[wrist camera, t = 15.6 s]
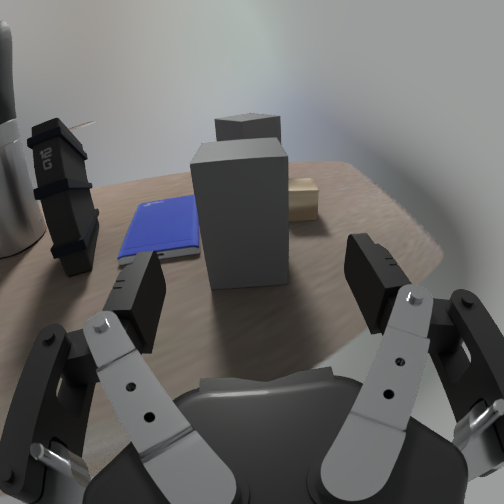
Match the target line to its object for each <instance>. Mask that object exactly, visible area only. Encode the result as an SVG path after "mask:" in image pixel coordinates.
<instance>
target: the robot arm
mask: <svg viewBox="0 0 504 504" xmlns="http://www.w3.org/2000/svg"><path fill="white" fill-rule="evenodd" d="M12 78H13V77H12V37H11V31H10V28H9V26H8V24H7V23H6V22H4V21H0V258H1V257H6V256H11V255H13V254H16V253H18V252H20V251H22V250H24V249H26V248H27V247H29V246H30V245H32V244H33V243H34V242H35V241H37V240H38V239H39V238H40V237H41V236H42V235H43V234H44V232H45V230H46V225H45V222H44V219H43V216H42V213H41V211H40V208H39V205H38V202H37V200H35V197H34V192H33V190H34V189H33V186H32V182H31V179H30V175H29V172H28V168H27V164H26V160H25V156H24V152H23V148H22V143H21V139H20V134H19V129H18V123H17V119H16V112H15V102H14V90H13V79H12ZM344 273H345V278H346V280H347V282H348V284H349V286H350V289H351V291H352V293H353V295H354V297H355V299H356V301H357V304H358V306H359V308H360V310H361V312H362V315H363V317H364V319H365V321H366V324H367V326H368V328H369V330H370V333H371V334H377V333H382V336H383V338H382V341H381V343H380V346H379V348H378V351H377V353H376V356H375V358H374V361H373V363H372V365H371V368H370V370H369V372H368V375H367V377H366V379H365V381H364V384H362V383H361V382H359V381H356V380H354V379H351V378H346V377H342V376H334V375H333V372H332V368H331V367H325V368H319V369H311V370H304V371H299V372H296V373H293V374H290V375H287V376H284V377H281V378H278V379H275V380H272V381H269V382H261V381H254V380H246V379H240V378H233V377H229V378H205V379H200V387H199V388H197V389H194V390H191V391H188V392H186V393H184V394H182V395H180V396H179V397H177V398H175V399H174V400H173V401H172V400H171V398H170V397H169V396H168V394H167V393H166V392H165V390H164V389H163V387H162V386H161V384H160V383H159V382H158V380H157V379H156V377H155V376H154V374H153V373H152V371H151V370H150V368H149V367H148V365H147V364H146V362H145V361H144V359H143V358H142V356H141V355H142V353H146V354H152V349H153V345H154V340H155V336H156V331H157V327H158V323H159V319H160V314H161V310H162V306H163V302H164V298H165V294H166V283H165V279H164V275H163V272H162V268H161V265H160V261H159V258H158V255H157V252H156V251H155V250H153V251H143V252H138V253H137V254H136V257H135V259H134V261H133V263H132V264H128V265H127V266H126V267H125V268H124V269H123V270H122V271H121V272H120V273H119V275H118V277H117V279H116V282H115V284H114V286H113V289H112V290H111V292H110V295H109V297H108V299H107V301H106V304H105V306H104V308H103V310H102V311H101V312H98V313H96V314H94V315H92V316H91V317H90V318H89V319H88V320H87V321H86V323H85V324H84V328H83V329H80V330H77V331H73V332H69V333H66V331H65V329H64V328H63V327H62V326H61V325H59V324H52V325H49V326H47V327H46V328H44V329H43V330H42V331H41V332H40V333H39V334H38V336H37V338H36V340H35V343H34V345H33V347H32V349H31V352H30V354H29V356H28V359H27V361H26V364H25V366H24V369H23V371H22V374H21V377H20V379H19V382H18V385H17V388H16V390H15V393H14V396H13V399H12V402H11V405H10V409H9V412H8V415H7V418H6V422H5V425H4V429H3V433H2V437H1V441H0V489H1V490H2V491H3V492H4V493H6V494H8V495H10V496H12V497H14V498H16V499H18V500H21V501H22V502H23V503H25V504H464V498H465V492H466V488H467V483H468V482H469V481H471V480H473V479H475V478H476V477H485V476H487V475H489V474H491V473H493V472H495V471H496V470H498V469H500V468H501V467H503V466H504V337H503V335H502V333H501V332H500V330H499V328H498V327H497V325H496V324H495V322H494V320H493V319H492V317H491V316H490V314H489V313H488V311H487V310H486V308H485V307H484V305H483V304H482V303H481V301H480V300H479V298H478V297H477V296H476V295H475V294H473V293H472V292H470V291H467V290H464V289H458V290H456V291H454V292H453V293H452V295H451V298H450V300H444V299H434V298H433V297H432V295H431V293H429V291H428V290H426V289H425V288H423V287H421V286H419V285H414V284H411V282H410V281H409V279H408V278H407V276H406V275H405V273H404V272H403V271H402V269H401V268H400V266H399V265H397V262H396V261H395V259H393V257H392V255H391V254H390V253H389V251H388V250H387V249H385V248H384V247H382V246H381V245H380V244H374V242H373V241H372V240H371V238H370V237H369V235H368V234H367V233H361V234H350V235H349V236H348V240H347V247H346V255H345V263H344ZM463 341H464V342H465V344H466V346H467V348H468V350H469V352H470V354H471V363H470V361H469V359H468V357H467V355H466V353H465V351H464V349H463V348H462V343H463ZM427 353H429V354H430V356H431V358H432V361H433V363H434V365H435V368H436V370H437V372H438V375H439V377H440V380H441V382H442V384H443V387H444V389H445V392H446V394H447V397H448V400H449V403H450V405H451V408H452V410H453V413H454V416H455V419H456V422H457V424H456V426H455V429H454V439H453V441H452V443H451V442H450V441H448V440H446V439H445V438H443V437H442V436H440V435H439V434H437V433H436V432H434V431H432V430H431V429H429V428H428V427H426V426H425V425H423V424H422V423H420V422H419V421H417V420H416V419H414V418H413V417H411V416H410V414H411V412H412V408H413V405H414V402H415V399H416V396H417V392H418V389H419V385H420V382H421V377H422V374H423V370H424V366H425V362H426V357H427ZM60 377H61V378H62V382H61V386H60V389H59V393H58V396H56V390H57V386H58V383H59V379H60ZM97 382H101V384H102V386H103V388H104V390H105V392H106V394H107V397H108V399H109V401H110V403H111V405H112V407H113V409H114V411H115V412H116V414H117V416H118V418H119V420H120V422H121V424H122V426H123V427H124V429H125V431H126V433H127V434H128V436H129V438H130V440H131V442H130V443H129V444H128V445H127V446H126V447H125V448H124V449H123V450H122V451H121V452H120V453H119V454H118V455H117V456H116V457H115V458H114V459H113V460H112V461H111V462H110V463H109V464H108V465H107V466H106V467H105V468H104V469H102V470H101V471H100V472H99V473H98V474H97V475H96V476H95V477H94V478H93V479H92V480H91V477H90V475H89V474H88V467H87V465H86V463H85V461H84V460H83V459H82V453H83V446H84V440H85V434H86V428H87V422H88V417H89V412H90V407H91V402H92V397H93V393H94V388H95V384H96V383H97Z"/></svg>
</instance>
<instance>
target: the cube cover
mask: <svg viewBox="0 0 504 504" xmlns="http://www.w3.org/2000/svg"><path fill="white" fill-rule="evenodd" d="M190 168H191V175H192V182H193V189H194V195H195V202H196V208H197V214H198V220H199V226H200V232H201V238H202V244H203V249H204V255H205V260H206V266H207V271H208V276H209V282H210V287H211V290H212V289H228V288H243V287H257V286H271V285H283V284H288V258H289V183H288V155H287V154H286V152H285V150H284V149H283V147H282V146H281V144H280V142H279V141H278V139H277V137H275V138H256V139H242V140H229V141H218V142H209V143H201V145H200V147H199V149H198V150H197V152H196V154H195V156H194V157H193V159H192V161H191V163H190Z"/></svg>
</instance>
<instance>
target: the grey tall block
mask: <svg viewBox="0 0 504 504" xmlns="http://www.w3.org/2000/svg"><path fill="white" fill-rule="evenodd" d="M280 125H281V124H280V116H276V115H265V114H255V113H249V114H242V115H235V116H229V117H224V118H218V119H215V128H216V138H217V142H218V141H229V140H242V139H256V138H275V137H277V139H278V141H279V142H280V144H281V126H280Z"/></svg>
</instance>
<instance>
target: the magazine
mask: <svg viewBox="0 0 504 504" xmlns="http://www.w3.org/2000/svg"><path fill="white" fill-rule="evenodd" d="M27 146H28V147H29V148H31V149H33V158H34V168H35V174H36V179H37V185H38V188H36V189H34V190H33V192H34V197H35V200H41V204H42V208H43V212H44V216H45V220H46V223H47V226H48V229H49V232H50V235H51V238H52V241H53V243H54V245H53V246H52V248H51V249H50V250H51V253H52V255H53V258H54V259H56V258H59V259H60V261H61V263H62V266H63V268H64V270H65V273H66V275H67V276H72V275H76V274H79V273H83V272H86V271H89V270H91V269H92V264H93V258H94V251H95V245H96V240H97V234H98V229H99V222H98V219H97V217H98V215H99V210H98V209H94V205H93V202H92V198H91V194H90V188H92V183H88V180H87V175H86V169H85V162H84V160H87V154H86V153H85V152H84V150H83V147H82V144H81V143H80V142H79V141H78V140H77V138H76V137H75V136H74V135H73V134H72V133H71V132H70V131H69V130H68V128H67V127H66V126H65V125H64V124H63V123H62V122H61V120H60V119H59V118H54V119H51V120H49V121H46V122H44V123H41V124H39V125H36V126H34V127H32V137H31V138H28V139H27Z"/></svg>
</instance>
